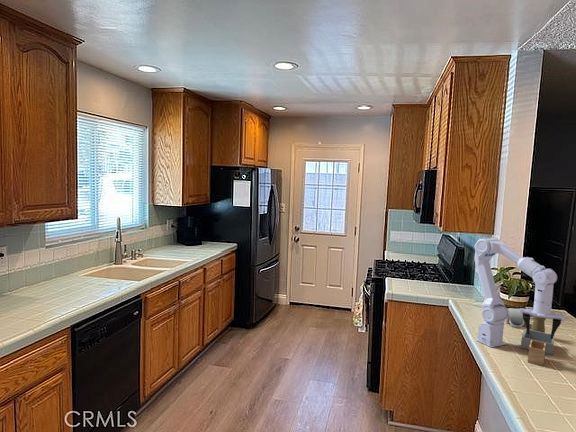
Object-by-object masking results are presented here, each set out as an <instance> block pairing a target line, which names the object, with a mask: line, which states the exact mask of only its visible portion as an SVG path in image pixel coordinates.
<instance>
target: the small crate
mask: <svg viewBox="0 0 576 432" xmlns="http://www.w3.org/2000/svg"><path fill="white" fill-rule="evenodd" d="M545 346H546V343H543V342H539V341H534V340H531V342H530V346H529V350H528V355H527V363H529V364H533V365H537V366H541V367H544V363H545V362H544V361H545V355H546V354H545Z"/></svg>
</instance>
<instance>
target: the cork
mask: <svg viewBox="0 0 576 432" xmlns="http://www.w3.org/2000/svg"><path fill="white" fill-rule="evenodd" d="M532 319H533V321H532V325H531V327H530V330H534V331H538V332H543V333H546V327H545V324H546V322H545V321H546V320H547V318H542V317H536V316H532Z"/></svg>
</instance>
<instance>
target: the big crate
mask: <svg viewBox="0 0 576 432" xmlns="http://www.w3.org/2000/svg"><path fill="white" fill-rule="evenodd" d="M522 332H523V333H522V336H521V343H520V349H523V350H528V351H529V346H530V342H531V340H534V341H539V342H543V343H546V346H545V355H549V356H553V355H554V354H553V352H554V347H555V346H554V344H555V334H554V336H553V339H551V333H547V332H545V333H543V332H538V331H534V330H531V329H530V331H529V334H527V328H524V330H523V331H522Z"/></svg>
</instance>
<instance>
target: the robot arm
mask: <svg viewBox="0 0 576 432" xmlns="http://www.w3.org/2000/svg"><path fill="white" fill-rule="evenodd" d="M473 248H474V259H473V260H474V263H475V267H476V270H477V275H478V279H479V283H480V288H481V291H482V294H483V298H484V299H483V300H484V301H483V302H482V304H481V310H482V312H481V316H482V319H483V322H482V323H480V324H479V326H478V329H477V330H478V332H477V338H476V339H475V341H477V342H479V343H481V344H483V345H485V346H487V347H490V348H495V347H500V346H507V345H508V343H507V342H505V341H503V339H504V327H505V322H506V319H507V317H508V314H509V313H508V310H507V309H508V308H507V307H506V305H505V303H504V301H503V300H502V299H501V298H500V297H499V294H498V290H497V287H496V286H497V285H496V282H495V279H494V274H493V272H492V271H493V270H492V268H491V263H490V261H491V259H492V258H494V256H495V255H497V254H499V255H502V256H504V257H505V258H507V259H509V260H510V261H511V262H513V263H515V264H516V265H517V268H518V269H519V270H520V271H521V272H523V273H524V274H526V275H527V276H529V277H530V278H532V281H533V282H534V285H535V286H534V300H533V309H531V308H523V307H522V308H521V307H520V308H519V309H520V314H522V315H523V319H524V322H525V324H526V325H525V329H527V334H529V331H530V330H531V327H530V326H531V325H530V322H531V317H533V316H536V317H542V318H546V319H549V320H552V326H551V332H550V334H551V339H553V336H554V335H555V334H556V331H557V329H558V328H559V327H560V326H561V323H562V322H563V323H564V322H565V321H566V320H565V319H566V315H563V314H559V313H555V312H552V304H553V295H554V284H555V283H556V282H557V281H558V275H557V273H556V272H555V271H554V270H553V268H546V267H545V266H544V265H541V264H540V263H538V262H537V261H535V259H534V258H533V257H529V256H526V257H525V256H523V255H521V254H519V253H518V252H516V250H514V249H513V248H511V247H510V246H508V244H506V243H505V241H502V240H501V239H499V238H497V237H491V238H480V239H478V240H477V241H476V243H475V244H474V245H473ZM554 337H555V336H554Z"/></svg>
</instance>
